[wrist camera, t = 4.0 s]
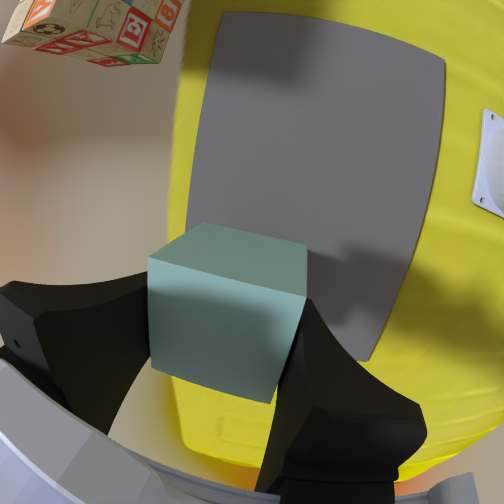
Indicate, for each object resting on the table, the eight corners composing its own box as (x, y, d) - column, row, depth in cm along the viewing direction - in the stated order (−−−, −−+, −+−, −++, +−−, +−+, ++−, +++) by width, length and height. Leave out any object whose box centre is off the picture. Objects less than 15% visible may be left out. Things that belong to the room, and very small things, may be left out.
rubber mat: (442, 60, 12) (444, 59, 12) (366, 359, 21) (366, 362, 21) (224, 13, 14) (223, 12, 14) (181, 317, 23) (180, 319, 23)
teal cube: (307, 245, 11) (306, 297, 7) (283, 333, 13) (270, 404, 8) (202, 222, 12) (147, 256, 7) (194, 309, 13) (151, 367, 9)
